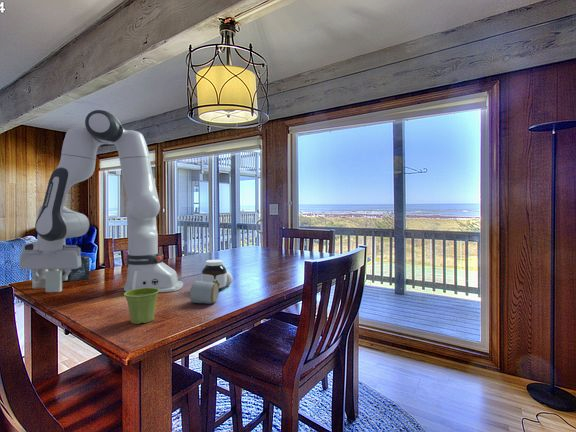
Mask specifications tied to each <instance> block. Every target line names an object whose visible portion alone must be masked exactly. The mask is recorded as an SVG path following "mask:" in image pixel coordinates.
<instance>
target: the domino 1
mask: <svg viewBox="0 0 576 432" xmlns="http://www.w3.org/2000/svg"><path fill="white" fill-rule="evenodd" d="M46 271H48V269H38V271H37V273H38V275H39V276H41V280H40V281H34V276H33V275H32V274H31V275H32V276H31V282H32V285H31V286H32V289H36V290H37V289H46V282H45V272H46Z"/></svg>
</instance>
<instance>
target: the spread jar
mask: <svg viewBox="0 0 576 432" xmlns="http://www.w3.org/2000/svg"><path fill="white" fill-rule="evenodd" d="M200 278H201V279H200V281H204V282H213V283H216V284H217V285H218V288H219V292H220V291H222V290H223V289H225V288H226V287H229V286H230V285H232V283H233V282H234V277H233V275H232V273H231V272H229V271H228V270H227V268H226V267H225V266H224V260H221V259H208V260H206V261H205V265H204V268H202V271H201V277H200Z"/></svg>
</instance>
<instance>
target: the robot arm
mask: <svg viewBox="0 0 576 432" xmlns="http://www.w3.org/2000/svg"><path fill="white" fill-rule="evenodd" d="M84 125H85V127H72V128H69V129H68V130H67V131H66V133H65V137H64V140H63V143H62V147H61V152H60V153H61V155H60V161H59V163H58V165H57V167H56V168H55V169H54V170H53V171H52V173H51V174H50V177H49V180H48V183H47V185H46V186H47V187H46V191H45V193H44V194H45V195H44V200H43V202H42V205H40V206H39V209H38V211H37V218H36V221H35V223H34V224H35V225H34V227H35V228H34V229H35V231H36V233H37V236H36V241H32V242H30V243H25V244H23V245H21V250H22V251H21V252H20V256H19V262H18V263H19V268H20V269H21V270H30V273H31V275H33V276H34V281H40V280H41V276H39V275H38V273H37V271H38V269H65V272H66V273H65V275H63V276H61V278H62V279H61V280H62V282H65V281H66V282H67V281H68V275H69V273H70V272H71V269H77V268H79V267H80V266H81V256H82V255H81V254H82V250H81V249H82V248H81V247H79V246H78V245H76V244H73V245H72V244H71V245H70V244H66V239H72V238H79V237H81V236H85V235H87V234H88V232H89V230H90V227H91V226H90V225H91V224H90V219H89V217H88V216H87V215H85V214H84V213H83V212H82V213H81V212H78V211H74V210H72V209H70V208H68V207H67V206H66V205H65V203H66V202H65V201H66V198H67V193H68V191H69V189H70V188H71V187H72V186H74V185H76V184H79V183H81V182H84V181H86V180H88V179H89V178H90V177H92V176H93V175H94V172H95V170H96V169H95V168H96V162H97V160H96V159H97V153H98V148H99V147H102V148H103V147H110V146H115V147H116V149H117V153H118V159H119V165H120V170H121V176H122V181H123V185H124V188H125V193H126V198H127V202H126V225H127V251H128V252H127V255H126V269H127V272H126V274H127V275H126V280H125V283H124V288H123V291H124V292H127V291H130V290H133V289H139V288H157V289H159V292H158V293H169V292H176V291H178V290H180V289H182V288H183V287H184V283H183V281H182V280H178V274H177V271H176V270H175V269H174V268H172V267H170V266H169V265H167V264H166V263H165V262H164V254H161V253H159V244H158V243H159V241H158V239H159V237H158V235H159V233H158V228H157V218H156V217H157V216H158V215H159V213H160V210H161V205H160V199H159V195H158V190H157V187H156V183H155V178H154V175H153V170H152V164H151V162H152V161H151V157H150V152H149V148H148V145H147V144H148V143H147V141H146V139H145V137H144V134H142V133H141V132H140V131H137V130H133V129H125V128H124V126H123V124H122V123H121V122H120V120H119V119H118V118H117V117H116V116H114V115H113V114H112V113H111V112H110V111H106V110H103V109H95V110H92V111H90V112H89V113H88V114H87V115H86V116H85V120H84Z"/></svg>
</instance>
